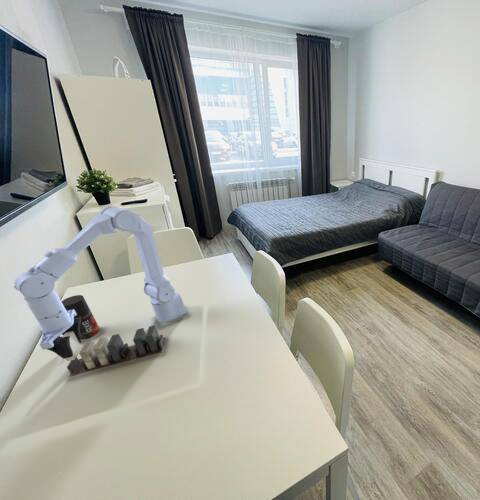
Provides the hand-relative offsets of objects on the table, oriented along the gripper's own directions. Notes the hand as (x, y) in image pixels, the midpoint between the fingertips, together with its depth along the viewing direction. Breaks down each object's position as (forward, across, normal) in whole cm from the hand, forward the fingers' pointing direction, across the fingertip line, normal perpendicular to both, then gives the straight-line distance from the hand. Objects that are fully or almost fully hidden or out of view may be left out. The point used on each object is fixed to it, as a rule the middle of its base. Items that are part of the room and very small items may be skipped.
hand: (72, 349), depth 79 cm
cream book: (+2, 0, 0) cm, 2 cm away
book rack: (+7, 0, +10) cm, 12 cm away
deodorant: (+8, -16, -4) cm, 18 cm away
